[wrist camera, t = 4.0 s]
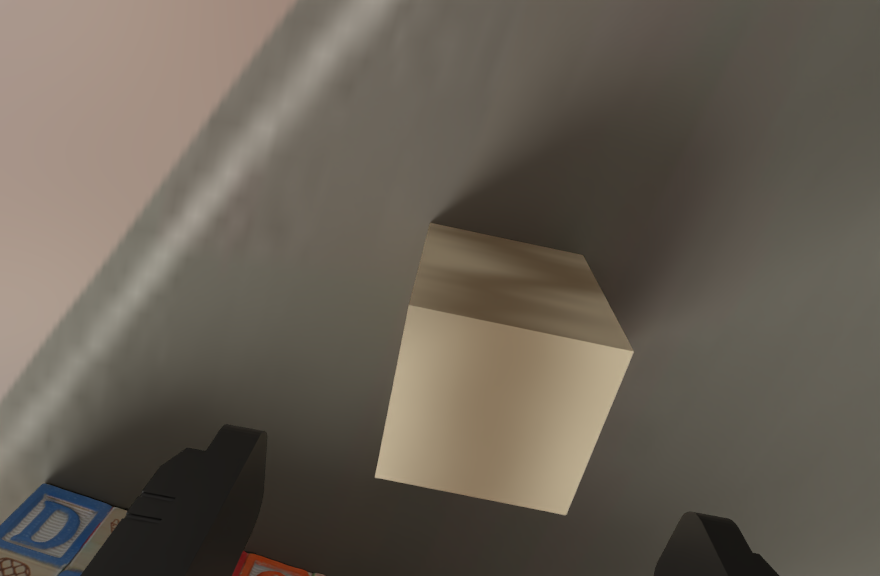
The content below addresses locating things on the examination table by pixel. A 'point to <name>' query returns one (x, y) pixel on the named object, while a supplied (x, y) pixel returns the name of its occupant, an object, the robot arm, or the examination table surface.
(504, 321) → the birch block
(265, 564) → the stack of blocks
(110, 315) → the examination table surface
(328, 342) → the examination table surface
